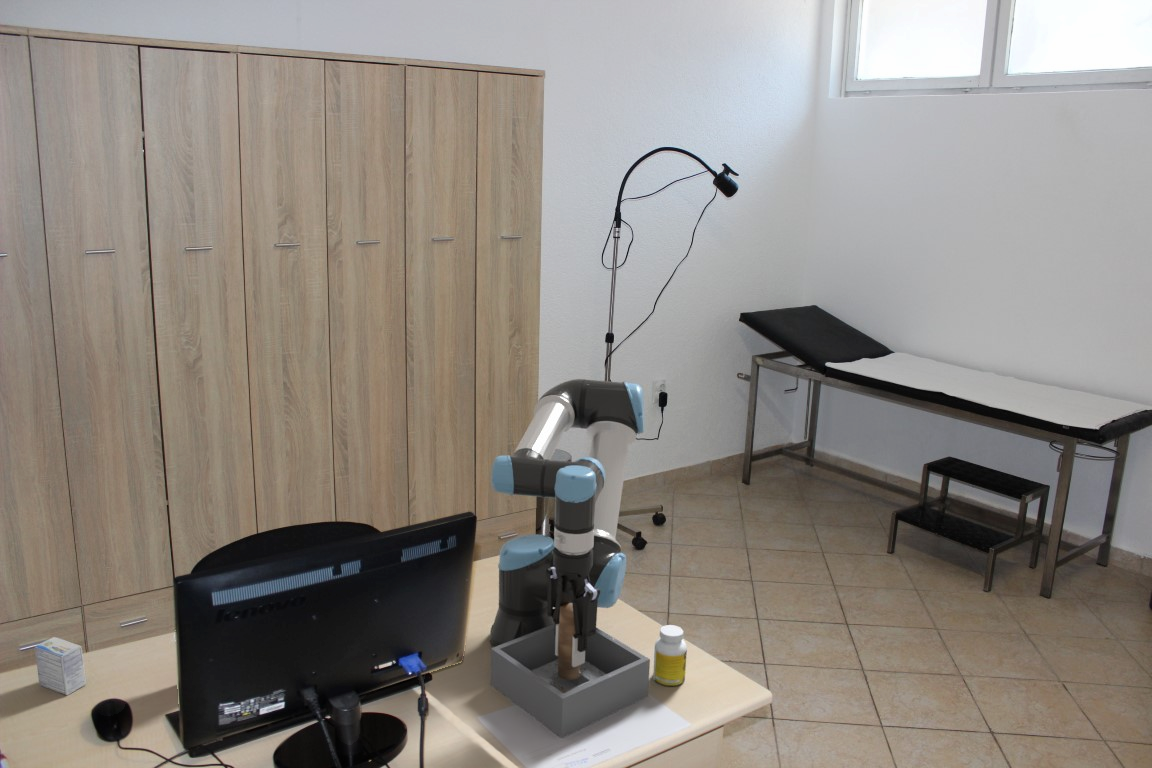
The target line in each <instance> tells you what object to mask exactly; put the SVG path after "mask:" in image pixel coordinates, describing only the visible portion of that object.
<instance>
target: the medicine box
mask: <svg viewBox="0 0 1152 768" xmlns="http://www.w3.org/2000/svg"><path fill="white" fill-rule="evenodd" d="M34 653H35V660H36V668H37V676H38V684H39V686H40V687H44V688H47V689H49V690H52V691H55V692H57V693H60V694H63V695H66V696H68V695H70V694H72V693H74V692H76V691H77V690H79V689H81V688H83V687H85V686H86V685H87V680H86V673H85V665H84V658H83V657H84V656H83V649H82V646H81V645H79V644H76V643H73V642H70V641H68V640H65V639H62V638H60V637H56V636H53V637H50V638H49V639H47V640H44V641H43V642H41V643H38V644H37V645H36V646H34Z"/></svg>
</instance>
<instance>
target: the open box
mask: <svg viewBox="0 0 1152 768" xmlns="http://www.w3.org/2000/svg"><path fill="white" fill-rule="evenodd" d="M554 628H555V624H553V625H551V626H548V627H545V628H543V629H540V630H538V631H535V632H532V633H530V634H527V635H525V636H522V637H519V638H517V639H514V640H512V641H509V642H506V643H504V644H501V645H499V646H496V647H493V646H492V648H491V649H490V686H491V687H493V688H494V689H495V690H497V691H498V692H500V693H501V694H502V695H503V696H505V698H507V699H509V700H510V701H511V702H513V703H514V704H515V705H516V706H518V707H519V708H520V709H521V710H523V711H525V712H526V713H527V714H528V715H529V716H531V717H533V718H534V719H535V720H537V721H538V722H539V723H540V724H542V725H543V726H544V727H545V728H548V730H550V731H552V732H553V733H554V734H555V735H556V736H558V737H559V738H560V739H563V738H565V737H567V736H569V735H571V734H573V733H576V732H578V731H580V730H581V729H583V728H586V727H588V726H590V725H592V724H594V723H597V722H598V721H601V720H603V719H604V718H607V717H608V716H610V715H612V714H614V713H617V712H618V711H620V710H622V709H625V708H626V707H628V706H630V705H633V704H635V703H637V702H639V701H641V700H643V699H645V698H647V697H649V685H650V684H649V683H650V668H651V667H650V663H651V659H650V658H649V657H647V656H645V655H644V654H642V653H640V652H638V651H637V650H635V649H633V648H632V647H630V646H629V645H626V644H625V643H623V642H621V641H620V640H618V639H616V638H615V637H613V636H612V635H609V634H608V633H606V632H605V631H603V630H602V629H600V628H598V627H596V634H594V635H592V636H589V637H587V649H586V650H585V661H587V662H588V663H590V664H591V665H593V666H595V667H596V668H598V669H599V670H601V671H602V672H604V673H606V675H604V676H602V677H599V678H597V679H595V680H593V681H590V682H588V683H586V684H584V685H581V686H579V684H577V683H576V682H574V681H573V680H567V681H565V682H563V683H560V684H559V685H560V686H562V687H563V688H564V689H566V690H567V691H568V690H570V689H572V688H574V687H577V686H579V687H577V688H575V689H573V690H570V691H568V692H566V693H562V692H561V691H559V690H558V689H556V688H555V687H554V686H552V685H551V684H549V683H548V682H546V681H545V680H544V679H542V678H541V677H539V676H538V675H536V674H535V673H533V672H532V671H531V670H534V669H536V668H538V667H541V666H543V665H546V664H548V663H550V662H553V661H555V660H558V656H556V655H555V640H556V637H555V634H554Z"/></svg>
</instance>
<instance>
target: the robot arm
mask: <svg viewBox="0 0 1152 768" xmlns="http://www.w3.org/2000/svg"><path fill="white" fill-rule="evenodd" d="M643 393H644V392H643V388H642V386H641V385H640V384H638V383H633V382H631V383H630V382H626V381H621V382H619V381H609V380H608V381H607V380H594V379H584V378H576V379H570V380H566V381H564V382H560V383H559V384H556V385H554V386H553V387H551V388H550V389H548V390H547V391H545V392H544V394H542V395H541V397H540V398H539V399H538V400H537V402H536V404H535V406H534V410H533V418H532V420H531V422H530V423H529V425H528V427H527V429H526V431H525V433H524V434H523V435H522V437H521V440H520V441H519V443H518V445H517V447H516V448H515V450H514V452H513V453H512V455H509V454H507V455H498V456H496V458H495V459H494V461H493V464H492V468H491V487H492V489H493V490H494V491H495V492H497V493H501V494H507V495H510V496H514V495H515V496H526V497H537V498H538V497H539V498H547V499H554V530H553V532H554V533H553V537H554V538H552V537H550V536H547V535H545V534H538V533H537V534H526V535H520V536H517V537H515V538H512V539H510V540H508V541H506V542H505V543H504V544H503V545H502V546H501V548H500V551H499V559H498V560H499V562H498V565H497V567H498V609H497V611H496V614H495V617H494V622H493V624H492V626H491V628H490V637H489V639H490V644H491V647H492V648H493V647H496V646H499V645H501V644H504V643H506V642H509V641H512V640H514V639H517V638H519V637H522V636H525V635H527V634H530V633H532V632H535V631H538V630H540V629H543V628H545V627H548V626H551V625H553V624H555V628H554V634H555V637H556V640H555V655H556V656H558V653H559V620H560V607H561V606H562V605H565V604H567V603H572V605H573V613H574V622H575V631H576V634H574V635H573V641H572V666H573V667H576V666H579V665H581V664H583V663H585V650H586V649H587V637H589V636H592V635H594V634H596V628H597V619H598V618H597V617H598V608H605V609H608V608H609V609H610V608H612V607H614V606H615V604H616V603H617V601H618V599H619V597H620V595H621V591H622V588H623V584H624V581H625V573H626V569H627V562H628V561H627V556H626V554H624V553H622V545H620V543H619V542H618V540H617V539H616V537H617V531H618V530H617V529H618V525H619V524H618V523H619V516H620V509H621V501H622V494H623V487H624V479H625V474H626V466H627V465H626V464H627V457H628V451H629V446H630V445H633V444H634V443H635V441H636V440H637V435H640V434H643V433H644V431H645V412H644V411H645V409H644V394H643ZM572 428H573V429H574V428H575V429H576V428H577V429H586V435H587V437H588V438H589V439H590V440H591V441H590V442H591V443H590V448H589V454H588V456H583V457H580V458H578V459H576V460H574V461H569V460H556V459H552V457H553V455H554V454H555V451H556V449H557V447H558V445H559V443H560V441H561V439H562V437H563V435H564V433H566V432H567V431H569V429H572Z"/></svg>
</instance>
